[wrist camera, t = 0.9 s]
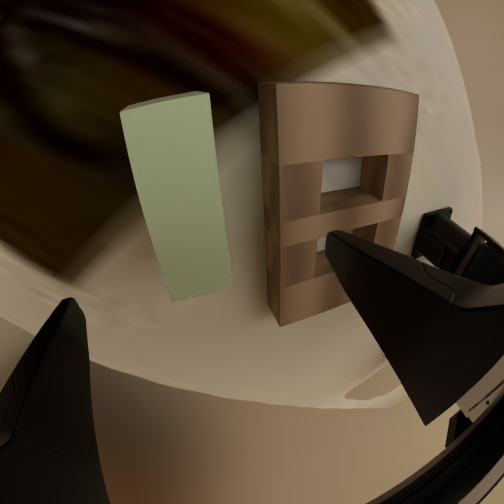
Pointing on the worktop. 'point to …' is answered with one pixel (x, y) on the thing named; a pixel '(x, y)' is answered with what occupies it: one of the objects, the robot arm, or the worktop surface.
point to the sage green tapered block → (180, 190)
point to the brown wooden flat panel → (310, 176)
